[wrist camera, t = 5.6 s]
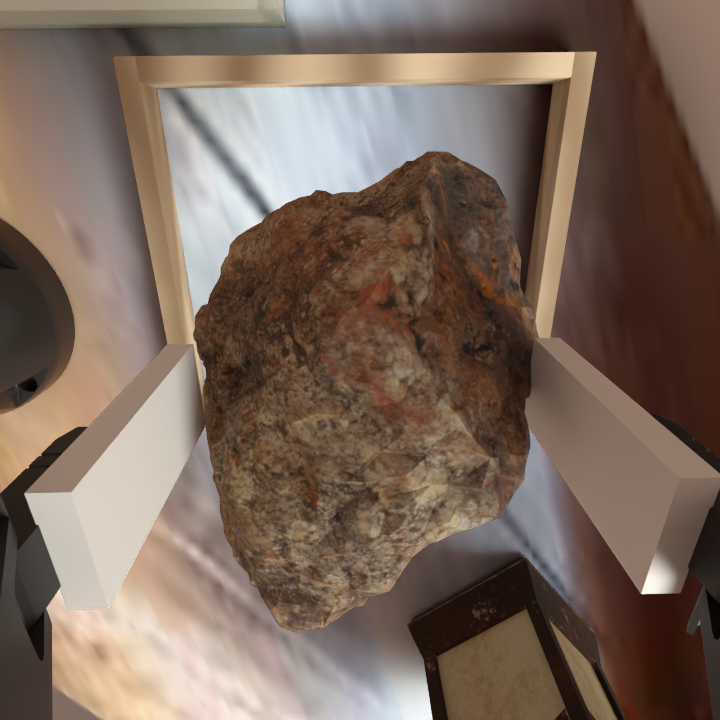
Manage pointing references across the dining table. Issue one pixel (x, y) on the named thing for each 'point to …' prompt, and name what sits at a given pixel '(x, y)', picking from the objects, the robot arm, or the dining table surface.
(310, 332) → the rock
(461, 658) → the lantern
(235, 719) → the dining table surface
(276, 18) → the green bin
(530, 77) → the pine frame
